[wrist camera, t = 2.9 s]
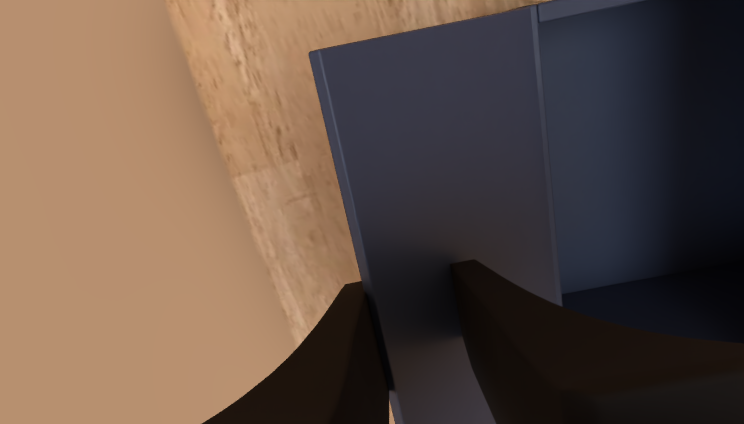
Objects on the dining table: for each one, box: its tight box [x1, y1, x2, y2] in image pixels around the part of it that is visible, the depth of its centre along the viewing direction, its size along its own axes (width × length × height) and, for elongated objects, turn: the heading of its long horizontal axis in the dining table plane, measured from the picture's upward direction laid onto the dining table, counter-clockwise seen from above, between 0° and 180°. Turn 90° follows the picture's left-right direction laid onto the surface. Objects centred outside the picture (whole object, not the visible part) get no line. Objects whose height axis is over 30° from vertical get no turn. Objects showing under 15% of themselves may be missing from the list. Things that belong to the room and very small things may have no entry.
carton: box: [505, 0, 744, 344], centre depth 17 cm, size 13×13×7 cm
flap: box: [309, 7, 557, 424], centre depth 12 cm, size 13×6×1 cm
